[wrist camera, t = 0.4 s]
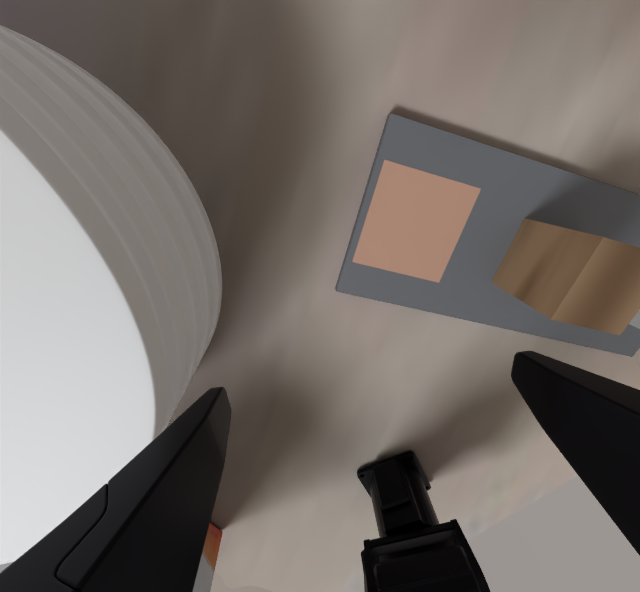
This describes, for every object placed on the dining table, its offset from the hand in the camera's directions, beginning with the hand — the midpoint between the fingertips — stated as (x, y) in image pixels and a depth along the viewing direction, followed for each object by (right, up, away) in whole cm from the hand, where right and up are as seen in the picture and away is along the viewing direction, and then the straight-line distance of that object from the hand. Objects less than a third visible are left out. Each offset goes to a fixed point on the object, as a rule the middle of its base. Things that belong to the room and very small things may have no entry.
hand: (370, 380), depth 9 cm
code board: (+15, +6, +14) cm, 21 cm away
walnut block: (+15, +5, +13) cm, 20 cm away
